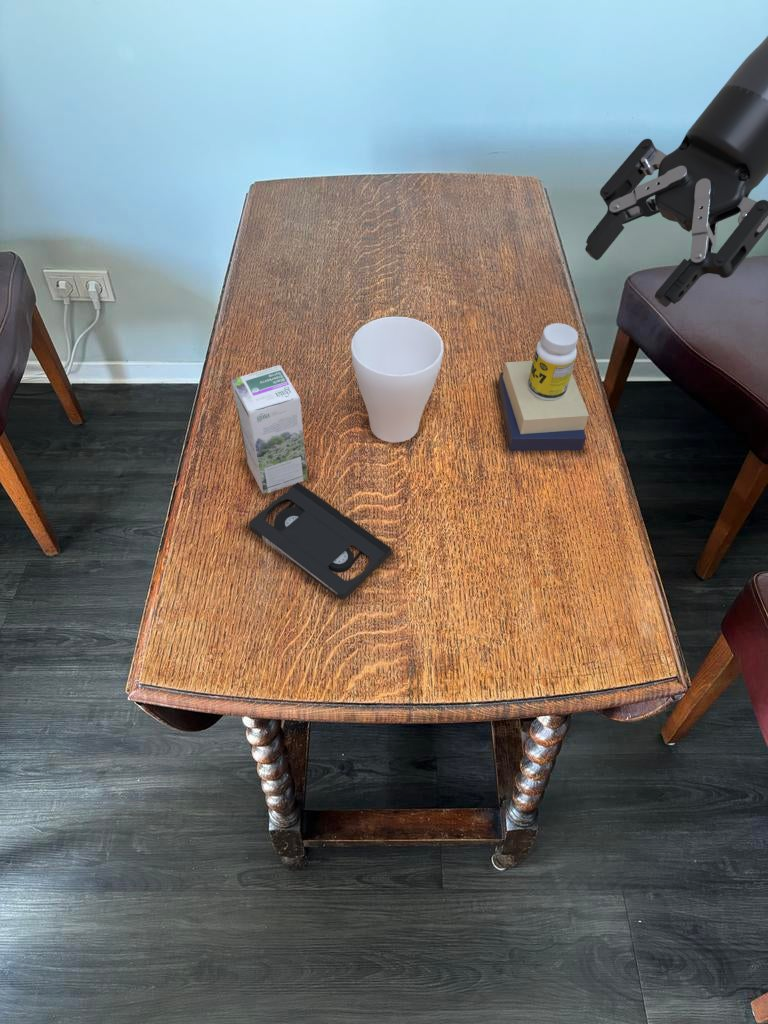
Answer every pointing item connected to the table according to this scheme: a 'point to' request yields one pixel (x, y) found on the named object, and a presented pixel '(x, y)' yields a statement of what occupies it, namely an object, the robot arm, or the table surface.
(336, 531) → the vhs tape
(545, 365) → the supplement bottle
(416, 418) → the cup
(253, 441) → the syrup box
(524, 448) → the book stack
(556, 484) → the table surface
